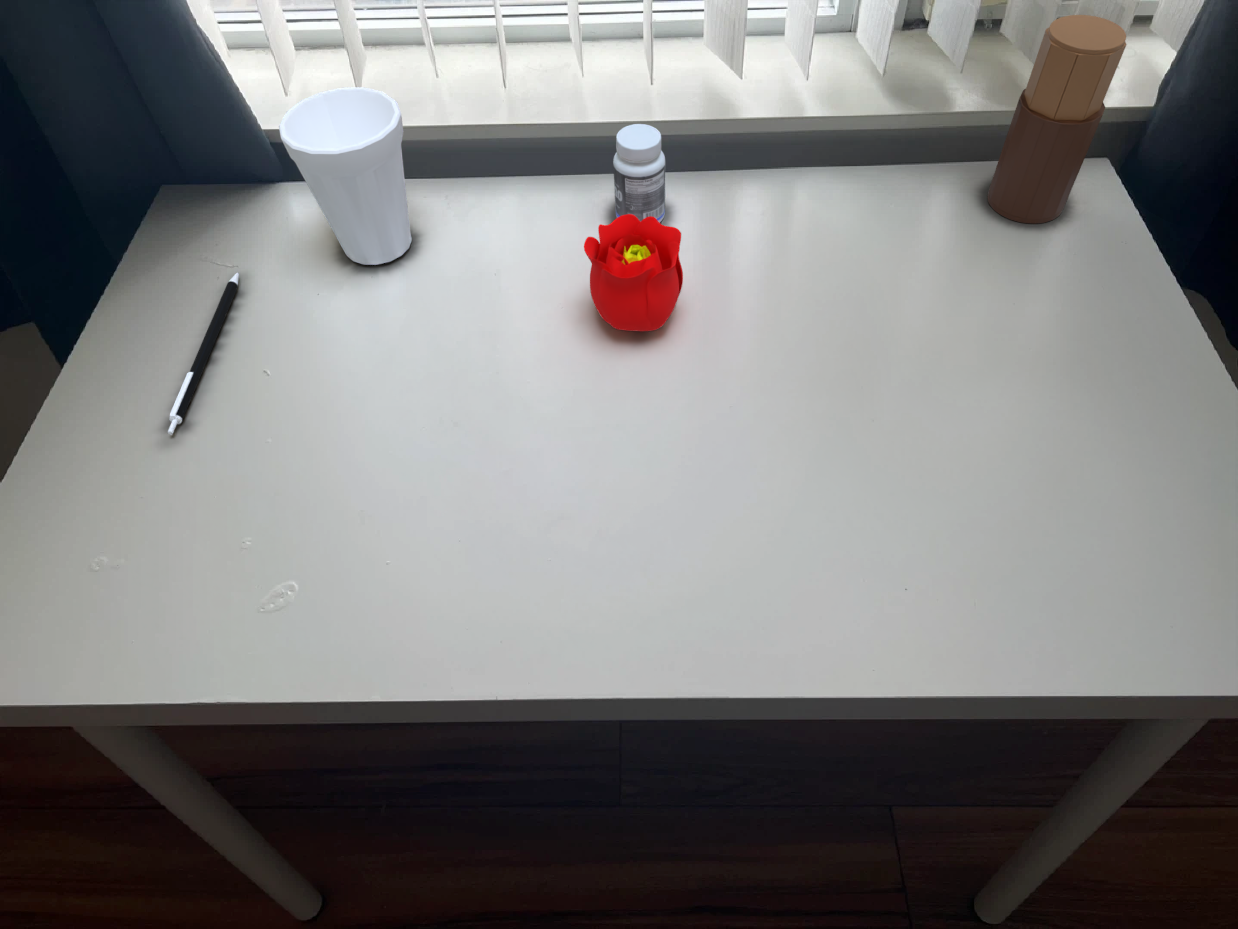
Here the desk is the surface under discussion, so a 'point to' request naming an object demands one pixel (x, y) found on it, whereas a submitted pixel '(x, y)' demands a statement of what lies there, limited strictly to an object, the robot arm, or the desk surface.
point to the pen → (202, 355)
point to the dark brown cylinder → (1039, 164)
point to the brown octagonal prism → (1075, 67)
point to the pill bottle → (639, 172)
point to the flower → (635, 272)
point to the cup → (353, 168)
